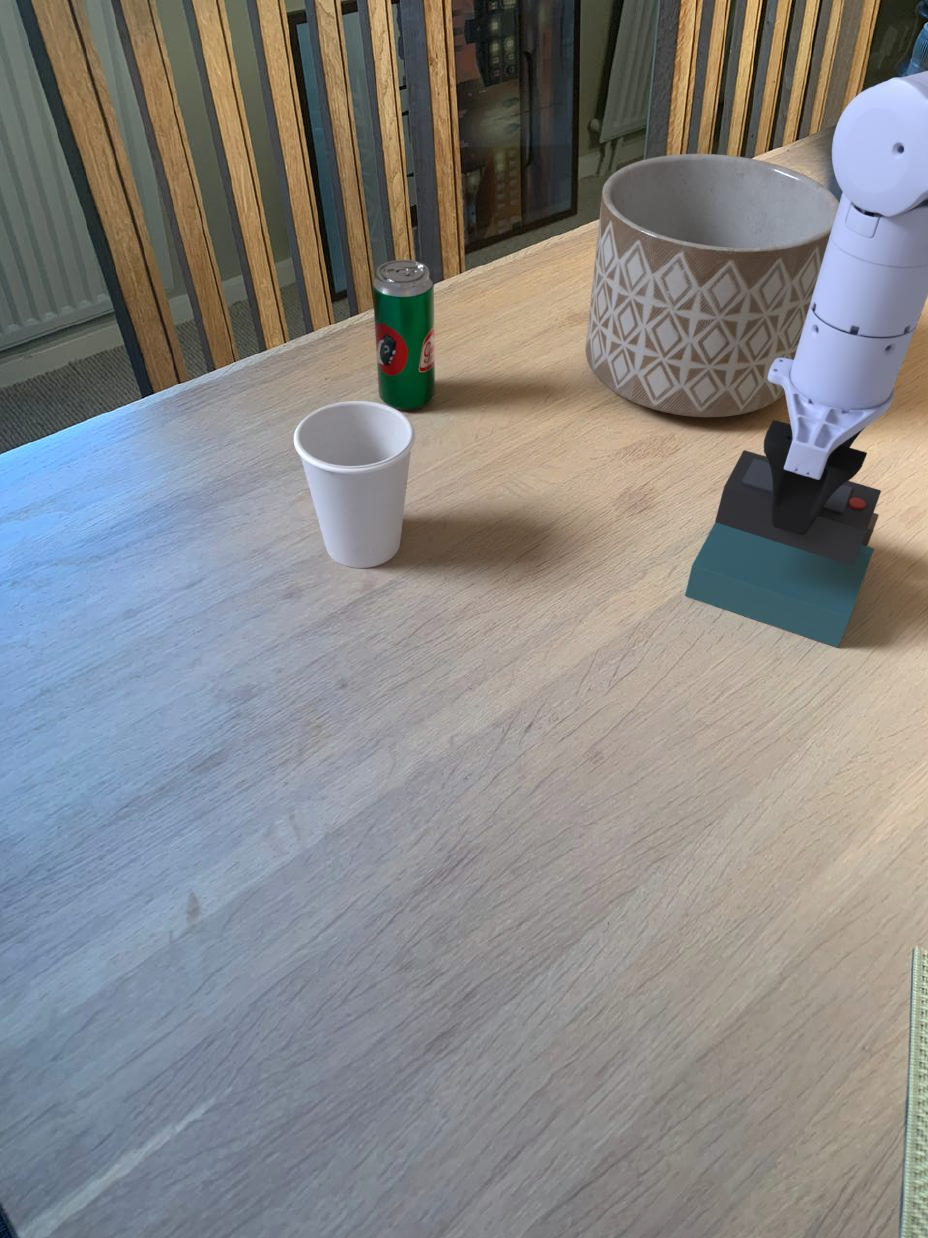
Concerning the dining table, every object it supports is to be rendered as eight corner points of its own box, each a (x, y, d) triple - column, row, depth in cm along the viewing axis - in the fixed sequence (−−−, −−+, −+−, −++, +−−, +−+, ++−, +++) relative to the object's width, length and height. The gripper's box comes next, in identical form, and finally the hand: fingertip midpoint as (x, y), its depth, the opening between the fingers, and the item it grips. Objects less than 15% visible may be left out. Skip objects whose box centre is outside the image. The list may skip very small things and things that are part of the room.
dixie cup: (300, 517, 77) (286, 407, 70) (405, 501, 79) (401, 392, 72) (316, 588, 72) (302, 477, 65) (429, 570, 73) (427, 459, 66)
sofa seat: (837, 648, 68) (857, 601, 65) (684, 596, 72) (695, 549, 68) (867, 562, 74) (886, 516, 71) (725, 518, 78) (737, 472, 75)
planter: (694, 460, 83) (734, 273, 72) (541, 364, 94) (554, 188, 82) (834, 384, 92) (891, 206, 80) (680, 304, 103) (709, 137, 91)
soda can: (434, 414, 88) (432, 286, 79) (377, 413, 88) (369, 284, 79) (436, 383, 91) (434, 257, 83) (381, 382, 91) (374, 256, 83)
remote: (867, 525, 65) (882, 487, 63) (852, 566, 62) (868, 528, 60) (734, 485, 68) (744, 447, 66) (714, 522, 65) (724, 484, 63)
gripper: (821, 243, 60) (767, 430, 70) (756, 354, 51) (705, 551, 61) (941, 270, 58) (869, 459, 68) (896, 390, 49) (820, 589, 59)
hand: (798, 505), depth 64 cm, fingers closed on remote, 4 cm apart
